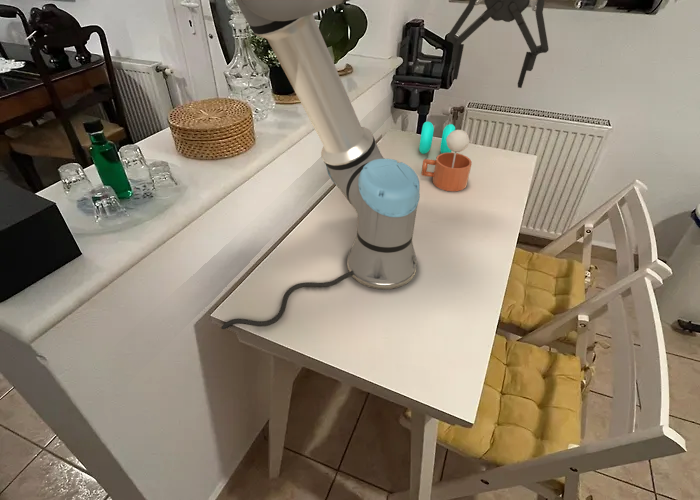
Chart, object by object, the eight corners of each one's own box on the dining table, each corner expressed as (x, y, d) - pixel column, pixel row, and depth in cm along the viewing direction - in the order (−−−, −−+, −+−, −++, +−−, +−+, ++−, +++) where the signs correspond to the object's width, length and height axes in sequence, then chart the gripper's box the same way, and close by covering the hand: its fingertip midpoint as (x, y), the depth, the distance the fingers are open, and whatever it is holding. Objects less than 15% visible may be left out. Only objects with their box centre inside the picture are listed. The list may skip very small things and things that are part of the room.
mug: (467, 176, 127) (471, 155, 123) (466, 193, 120) (471, 171, 115) (422, 170, 129) (425, 149, 125) (418, 186, 122) (421, 164, 117)
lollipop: (459, 175, 126) (470, 126, 116) (461, 185, 121) (472, 136, 112) (438, 174, 126) (447, 125, 117) (439, 184, 122) (449, 134, 112)
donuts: (449, 163, 133) (455, 132, 127) (417, 158, 135) (421, 128, 129) (451, 148, 141) (456, 119, 134) (420, 145, 142) (424, 115, 136)
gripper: (583, -32, 80) (546, 84, 94) (449, -43, 85) (432, 69, 98) (589, -28, 75) (548, 95, 88) (445, -39, 79) (427, 79, 93)
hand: (487, 81), depth 93 cm, fingers open, 13 cm apart
